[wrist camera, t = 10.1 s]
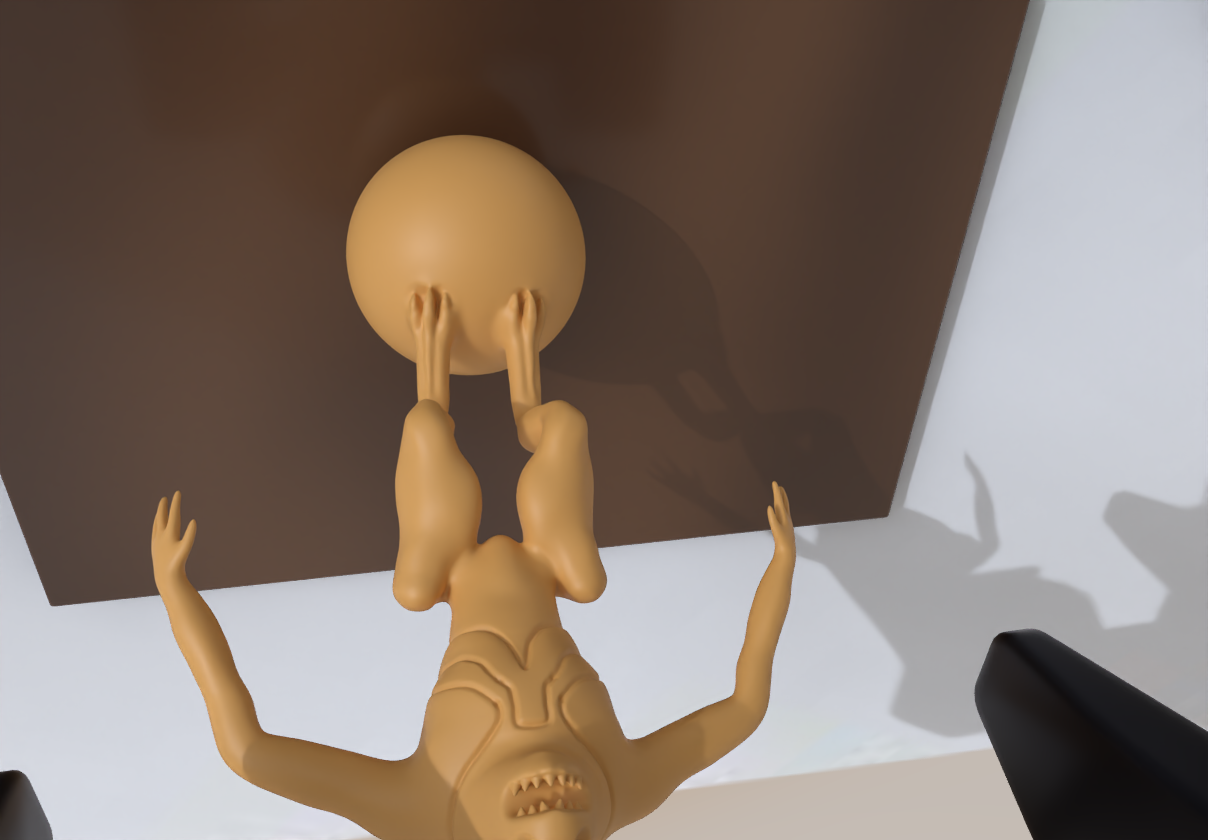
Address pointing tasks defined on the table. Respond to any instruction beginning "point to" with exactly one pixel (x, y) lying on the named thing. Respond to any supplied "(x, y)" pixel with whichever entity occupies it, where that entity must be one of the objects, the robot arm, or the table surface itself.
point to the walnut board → (483, 402)
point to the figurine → (494, 568)
